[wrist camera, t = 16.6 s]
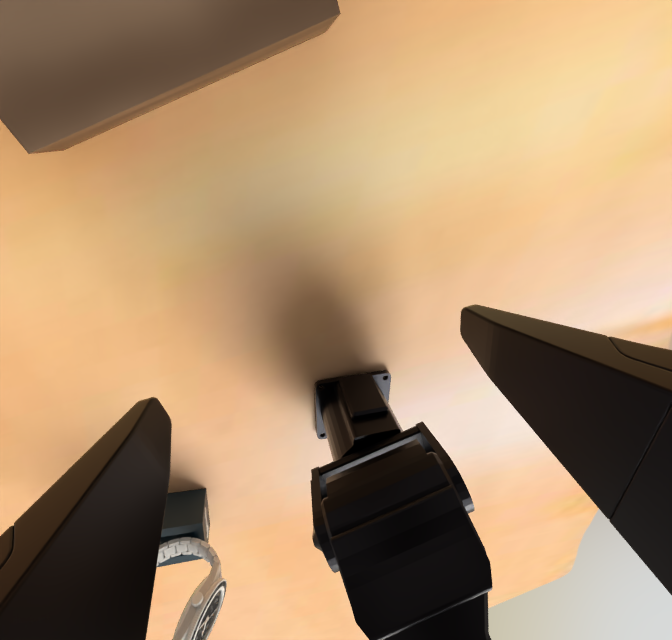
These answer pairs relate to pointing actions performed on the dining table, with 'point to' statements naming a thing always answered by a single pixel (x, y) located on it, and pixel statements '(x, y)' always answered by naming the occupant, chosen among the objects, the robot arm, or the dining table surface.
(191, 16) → the walnut block
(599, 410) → the robot arm
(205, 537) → the watch
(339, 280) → the dining table surface
